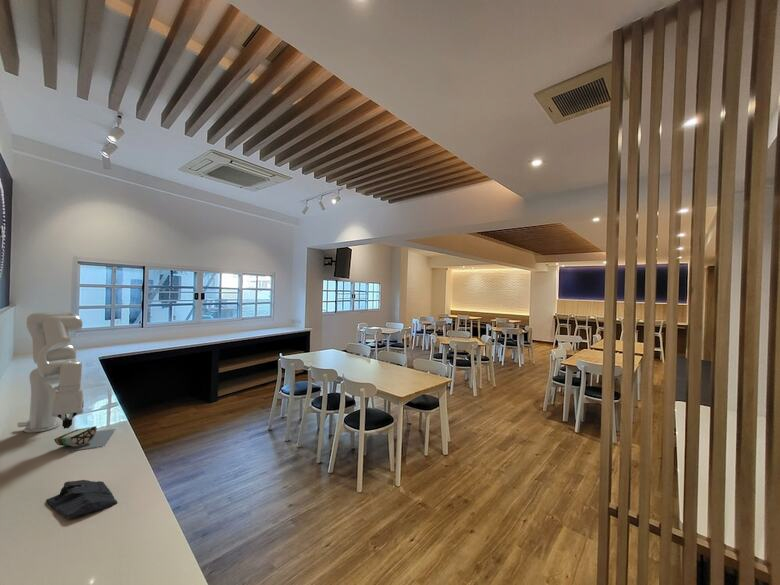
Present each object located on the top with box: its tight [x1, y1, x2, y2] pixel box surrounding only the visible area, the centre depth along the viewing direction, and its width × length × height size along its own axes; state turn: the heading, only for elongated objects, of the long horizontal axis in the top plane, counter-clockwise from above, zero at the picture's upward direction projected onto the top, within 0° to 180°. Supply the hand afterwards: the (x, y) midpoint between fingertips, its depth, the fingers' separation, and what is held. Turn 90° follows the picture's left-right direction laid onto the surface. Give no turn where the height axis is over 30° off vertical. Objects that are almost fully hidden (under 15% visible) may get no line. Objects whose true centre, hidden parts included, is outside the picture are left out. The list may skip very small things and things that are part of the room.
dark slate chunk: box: [45, 479, 118, 520], centre depth 111 cm, size 15×22×5 cm
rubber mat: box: [67, 428, 116, 453], centre depth 157 cm, size 12×22×1 cm, turn 30°
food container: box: [53, 425, 98, 447], centre depth 151 cm, size 12×6×10 cm
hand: (67, 427), depth 153 cm, fingers closed
